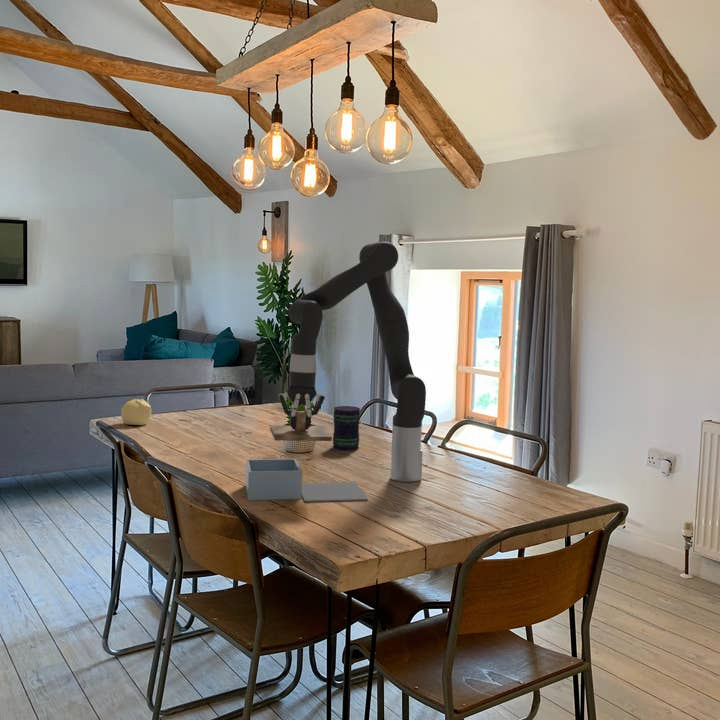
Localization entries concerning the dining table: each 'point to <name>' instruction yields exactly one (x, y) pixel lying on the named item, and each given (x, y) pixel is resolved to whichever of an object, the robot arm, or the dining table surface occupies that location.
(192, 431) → the dining table surface
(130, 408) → the pale yellow rounded lump
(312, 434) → the lid
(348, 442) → the storage jar
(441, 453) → the dining table surface
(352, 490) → the mat
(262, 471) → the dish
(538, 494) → the dining table surface
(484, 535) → the dining table surface
